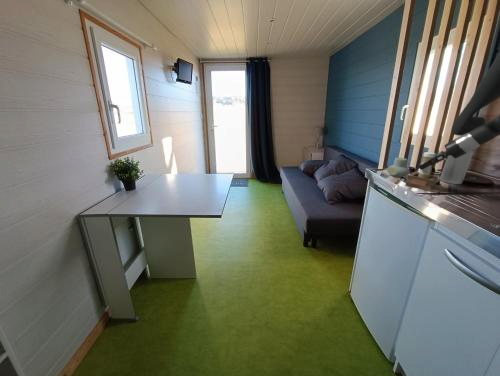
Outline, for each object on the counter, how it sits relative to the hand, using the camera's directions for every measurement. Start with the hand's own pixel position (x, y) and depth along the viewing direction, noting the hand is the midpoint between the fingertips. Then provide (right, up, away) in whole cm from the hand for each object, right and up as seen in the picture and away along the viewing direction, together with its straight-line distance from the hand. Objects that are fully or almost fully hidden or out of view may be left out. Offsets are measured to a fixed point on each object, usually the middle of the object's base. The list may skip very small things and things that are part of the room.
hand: (421, 167), depth 111 cm
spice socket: (+3, -9, +2) cm, 10 cm away
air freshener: (0, -3, +19) cm, 19 cm away
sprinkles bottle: (+1, -6, +1) cm, 7 cm away
